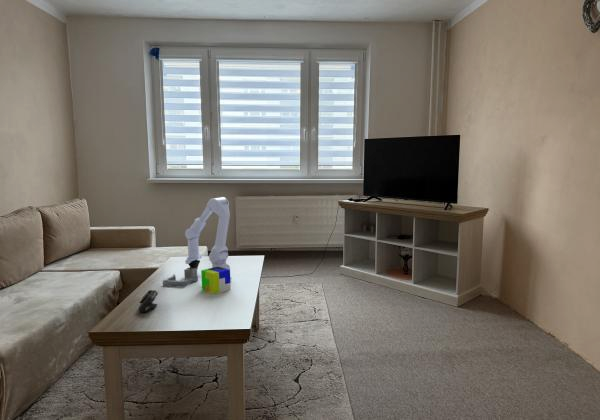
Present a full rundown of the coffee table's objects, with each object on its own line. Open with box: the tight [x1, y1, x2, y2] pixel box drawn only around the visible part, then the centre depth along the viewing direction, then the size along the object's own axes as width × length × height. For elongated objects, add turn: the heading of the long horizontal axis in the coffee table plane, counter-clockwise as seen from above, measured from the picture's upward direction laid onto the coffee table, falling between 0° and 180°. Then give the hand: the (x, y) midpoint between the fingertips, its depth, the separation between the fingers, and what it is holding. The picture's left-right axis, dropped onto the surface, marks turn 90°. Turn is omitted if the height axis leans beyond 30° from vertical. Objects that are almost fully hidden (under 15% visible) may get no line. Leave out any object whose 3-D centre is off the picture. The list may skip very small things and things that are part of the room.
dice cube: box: [183, 267, 198, 280], centre depth 228 cm, size 5×5×5 cm
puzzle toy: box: [200, 267, 232, 295], centre depth 206 cm, size 10×10×10 cm
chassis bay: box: [162, 274, 199, 288], centre depth 218 cm, size 13×15×3 cm
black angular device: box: [137, 289, 159, 314], centre depth 179 cm, size 12×8×7 cm
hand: (194, 273), depth 233 cm, fingers closed
